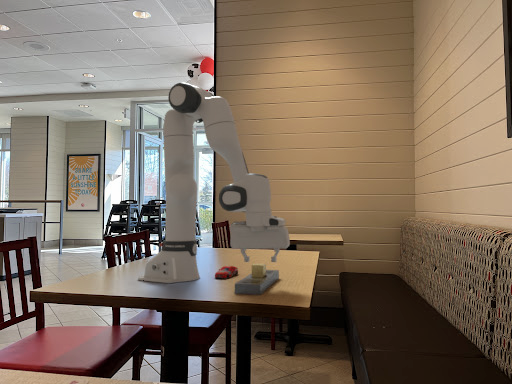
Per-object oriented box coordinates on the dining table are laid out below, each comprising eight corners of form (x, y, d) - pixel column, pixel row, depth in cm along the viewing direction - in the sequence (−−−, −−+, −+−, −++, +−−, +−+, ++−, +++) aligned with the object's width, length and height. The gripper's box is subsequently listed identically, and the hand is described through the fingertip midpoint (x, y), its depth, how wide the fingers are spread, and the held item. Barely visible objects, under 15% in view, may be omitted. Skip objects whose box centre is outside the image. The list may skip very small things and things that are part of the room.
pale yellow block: (251, 286, 125) (251, 265, 126) (254, 284, 129) (254, 263, 129) (263, 286, 124) (263, 265, 125) (266, 284, 128) (265, 263, 128)
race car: (225, 280, 137) (225, 269, 137) (212, 279, 139) (212, 268, 139) (240, 274, 149) (240, 264, 149) (228, 273, 151) (228, 263, 152)
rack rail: (234, 293, 114) (234, 283, 114) (258, 277, 141) (257, 269, 141) (260, 294, 112) (260, 284, 112) (278, 278, 139) (278, 270, 139)
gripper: (226, 222, 127) (228, 263, 126) (286, 220, 122) (288, 263, 121) (232, 221, 133) (234, 260, 132) (289, 219, 128) (291, 260, 127)
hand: (260, 261), depth 127 cm, fingers open, 8 cm apart
